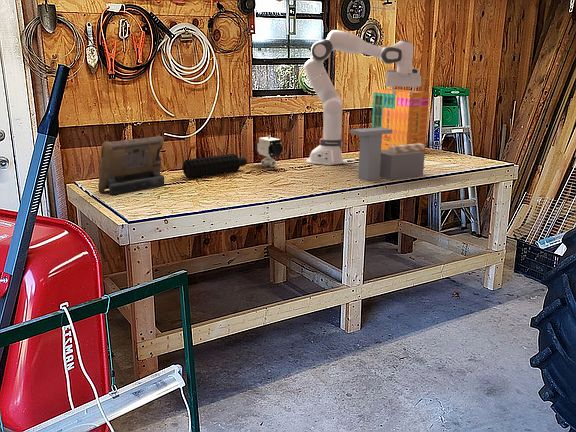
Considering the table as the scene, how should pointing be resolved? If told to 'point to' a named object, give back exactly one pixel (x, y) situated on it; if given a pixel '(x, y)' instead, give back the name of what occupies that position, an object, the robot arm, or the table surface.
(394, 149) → the bar
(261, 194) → the table surface
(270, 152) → the white security camera
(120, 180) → the tablet
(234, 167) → the roller
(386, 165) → the block
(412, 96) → the orange green grid box
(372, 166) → the stand
